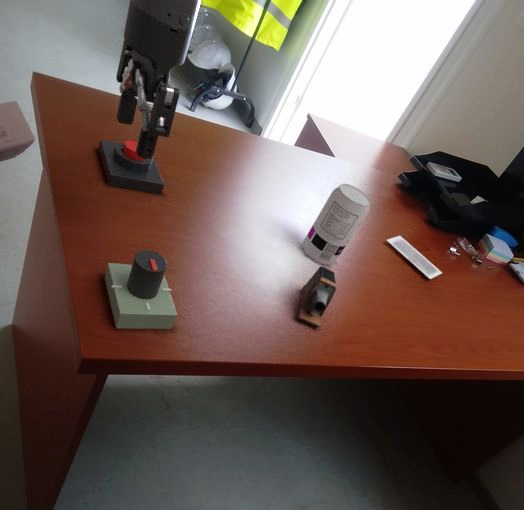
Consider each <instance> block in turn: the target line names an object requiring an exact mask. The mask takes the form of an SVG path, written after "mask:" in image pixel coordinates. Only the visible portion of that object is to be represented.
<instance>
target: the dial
mask: <svg viewBox="0 0 524 510" xmlns="http://www.w3.org/2000/svg"><path fill="white" fill-rule="evenodd" d="M131 265H132V268H131V272H130V275H129V279H128V282H127V288H128V290H129V292H130V293H131V294H132V295H134V296H136V297H138V298H141V299H152V298H154V297H156V296H157V294H158V291H159V288H160V285H161V282H162V280H163V277H164V276H165V274H166V271H167V268H168V261H167V260H166V258H165V257H164V256H163V255H162V254H160V253H159V252H156V251H154V250H149V249H142V250H139V251H137V252H136V253H135V255H134V257H133V261H132V264H131Z"/></svg>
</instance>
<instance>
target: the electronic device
mask: <svg viewBox="0 0 524 510" xmlns="http://www.w3.org/2000/svg"><path fill="white" fill-rule="evenodd" d="M335 275H336V274H335V272H334V271H333V270H331V269H328V268H327V267H324V266H323V265H321V266H319V267H318V269H317V270H316V271H315V273H313V275H312V276H311V277H310V279H308V280H307V282H306V283H305V284H304V285H303V286H302V288H301V289H300V295H299V301H298V311H297V312H298V313H297V317H296V318H297V320H298V321H299V322H301V323H303V324H306V325H308V326H310V327H312V328H314V329H316V328H321V327H322V321H323V316H324V313H325V312H326V310H327V308H328V307H329V305H330V303H331V302H332V300H333V297H334V296H335V293H336V291H337V282H336V277H335Z"/></svg>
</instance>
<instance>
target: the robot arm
mask: <svg viewBox="0 0 524 510" xmlns="http://www.w3.org/2000/svg"><path fill="white" fill-rule="evenodd" d="M201 2H202V0H129V3H128V9H127V15H126V18H125V19H126V20H125V24H124V30H123V44H122V49H121V53H120V57H119V62H118V66H117V71H116V77H115V78H116V82H117V83H120V85H119V93H120V98H119V102H118V107H117V112H116V120H117V121H118V123H119V124H123V125H127V126H128V125H129V126H130V125H132V124H133V123H134V119H135V115H136V110H137V109H138V110H139V112H141V128H140V133H139V136H138V140H137V142H138V144H137V148H136V154H137V155H138V157H140V158H147V159H151V158H152V157H154V154H155V150H156V146H157V143H158V139H159V137H163V138H169V137H170V134H171V129H172V126H173V122H174V118H175V114H176V110H177V106H178V102H179V98H180V89H179V88H177V87H173V86H171V85H170V77H171V71H172V69H174V68H176V67H177V68H178V67H182V65H183V64H184V63H185V60H186V58H187V53H188V50H189V48H190V47H189V46H190V43H191V39H192V36H193V32H194V29H195V26H196V21H197V17H198V14H199V11H200V7H201ZM150 103H151V104H150Z"/></svg>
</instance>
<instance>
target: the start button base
mask: <svg viewBox="0 0 524 510" xmlns="http://www.w3.org/2000/svg"><path fill="white" fill-rule="evenodd" d="M124 144H125V142H115V141H110V140H105V139H102V138H100V139H99V145H98V153H99V156H100V160H101V163H102V166H103V167H102V168H103V171H104V174H105V177H106V181H107V185H108V186H111V187H117V188H123V189H129V190H135V191H140V192H146V193H151V194H157V195H162V193H163V191H164V187H165V183H164V181H163V178H162V175H161V173H160V171H159V167H158V165H157V163H156V159H155V157H154V156H153V157H152V158H151V159H147V158H144V160H135V159H132V158H130V157H128V156H126V155H125V154H124V153H123V149H124Z"/></svg>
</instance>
